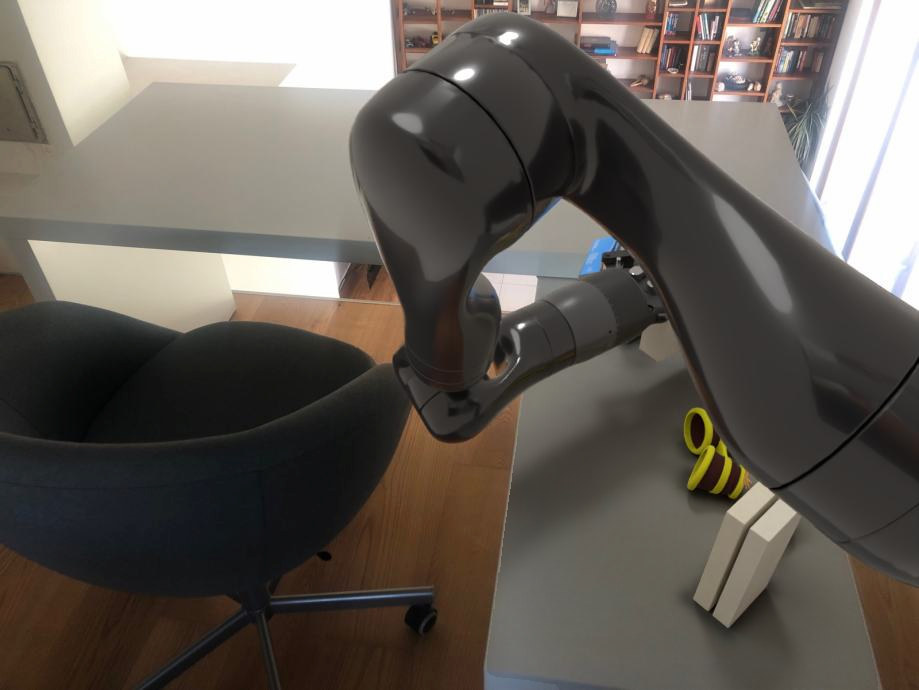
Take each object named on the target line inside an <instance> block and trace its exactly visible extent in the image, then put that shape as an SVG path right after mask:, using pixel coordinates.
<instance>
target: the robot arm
mask: <svg viewBox="0 0 919 690" xmlns="http://www.w3.org/2000/svg"><path fill="white" fill-rule="evenodd" d="M367 99H368V100H366V102H365V103H364V104H363V105H362V106H361V107H360V108H359V110H358V111H357V113H356V114H355V117H354V119H353V120H352V123H351V125H350V129H349V134H348V158H349V165H350V170H351V176H352V180H353V184H354V187H355V191H356V194H357V197H358V199H359V203H360V206H361V208H362V210H363V214H364V216H365V219H366V222H367V224H368V227H369V229H370V232H371V234H372V237H373V239H374V242H375V245H376V247H377V251H378V253H379V256H380V260H381V261H382V264H383V266H384V269H385V271H386V273H387V277H388V279H389V281H390V283H391V286H392V289H393V290H394V292H395V295H396V297H397V300H398V302H399V305H400V308H401V313H402V319H403V320H402V324H403V339H402V341H401V343H400V344H399V345H398V346H397V348H396V349H395V350H394V352H393V354H392V357H391V361H392V363H391V364H392V367H393V371H394V374H395V376H396V378H397V381H398V382H399V385H400V386H401V387H402V389H403V391H404V392H405V394H406V396H407V397H408V399H409V401H410V403H411V404H412V406H413V408H414V409H415V411H416V413H417V415H418V416H419V418H420V420H421V421H422V423H423V425H424V427H425V428H426V430H427V432H428V433H429V434H430V435H431V437H432V438H433V439H435V440H436V441H438V442H440V443H443V444H447V445H448V444H451V445H453V444H456V445H457V444H461V443H466V442H468V441H470V440H472V439H474V438H475V437H477V436H478V435H479V434H481V433H482V432H483V431H484V430H485V429H486V428H488V426H489V425H490V424H491V423H493V421H494V420H495V419H496V418H498V416H499V415H500V414H501V413H502V412H503V411H504V410H505V409H506V408H507V407H509V405H510V404H511V403H513V402H514V401H515V400H516V399H518V398H519V397H520V396H521V395H522V394H524V393H525V392H526V391H528V390H529V389H531V387H532V388H533V386H535V385H537V384H538V383H540V382H542V381H545V380H546V379H548V378H550V377H552V376H554V375H556V374H559V373H561V372H562V371H565V370H567V369H569V368H570V367H573V366H576V365H579V364H583V363H586V362H588V361H590V360H592V359H595V358H596V357H598V356H601V355H603V354H604V353H606V352H609V351H610V350H613V349H615V348H617V347H618V346H620V345H622V344H624V343H625V342H626V341H628V340H631V339H633V338H635V337H637V336H638V335H640V334H641V333H642V332H643V331H644V330H645V329H646V328H647V327H649V326H650V325H652V324H660V323H664V322H666V321H668V320H669V321H670V324H671V327H672V329H673V332H674V335H675V337H676V340H677V342H678V345H679V348H680V350H681V351H680V353H681V355H682V358H683V361H684V363H685V366H686V368H687V371H688V374H689V376H690V378H691V381H692V383H693V387H694V388H695V391H696V393H697V395H698V398H699V400H700V402H701V404H702V407H703V409H704V410H705V411H706V413H707V415H708V417H709V419H710V421H711V423H712V425H713V427H714V429H715V431H716V432H717V434H718V436H719V437H720V439H721V441H722V442H723V444H724V445H725V447H726V448H727V449H728V451H729V452H728V453H729V454H730V455H731V456H732V457H733V458H734V459H735V461H736V462H737V464H738V465H739V466H740V465H741V466H742V467H743V468H744V469H745V470H746V471H747V472H748V473H750V474H749V475H750V476H751V477H753V478H754V479H755V480H757V482H758V481H759V482H760V483H761V484H762V485H763V486H765V487H766V488H768V489H769V491H771V492H772V493H773V494H774V495H776V496H777V497H778V498H779V499H781V500H782V501H783V502H784V503H785V504H787V505H788V506H789V507H790V508H792V509H793V510H794V511H795V512H797V513H798V514H799V515H800V516H801V518H802V519H804V520H805V521H806V522H808V524H810V525H811V526H812V527H814V528H815V529H816V530H818V531H819V532H820V533H821V534H823V535H824V536H825V537H826V538H827V539H829V540H830V541H831V542H832V543H834V544H835V545H836V546H837V547H839V548H840V549H841V550H843V551H844V552H845V553H847V554H848V555H850V556H851V557H852V558H853V559H855V560H856V561H858V562H860V563H861V564H863V565H865V566H866V567H868V568H869V569H871V570H873V571H875V572H877V573H879V574H882V575H884V576H886V577H888V578H890V579H892V580H894V581H897V582H900V583H902V584H904V585H908V586H910V587H914V588H917V589H919V309H917V308H915V307H914V306H912V305H910V304H909V303H908V302H906V301H904V300H903V299H902V298H900V297H898V296H897V295H895V294H894V293H892V292H890V291H889V290H887V289H885V288H884V287H883V286H881V285H880V284H878V283H877V282H875V281H874V280H872V279H871V278H869V277H868V276H867V275H865V274H863V273H862V272H860V271H859V270H858V269H856V268H855V267H853V266H852V265H850V264H849V263H847V262H846V261H845V260H843V259H842V258H841V257H839V256H838V255H836V254H835V253H834V252H832V251H831V250H830V249H828V248H827V247H826V246H824V245H823V244H821V243H820V242H819V241H817V240H816V239H814V238H813V237H812V236H811V235H809V234H808V233H807V232H806V231H804V230H802V229H801V228H800V227H798V226H797V225H796V224H795V223H793V222H792V221H791V220H789V219H788V218H787V217H785V216H784V215H782V214H781V213H780V212H778V211H777V210H776V209H774V208H773V207H772V206H770V205H769V204H768V203H766V202H765V201H763V200H762V199H761V198H760V197H759V196H757V195H755V194H754V193H753V192H751V191H750V190H749V189H747V188H746V187H745V186H744V185H742V184H741V183H740V182H739V181H737V180H736V179H734V178H733V176H731V175H730V174H729V173H727V172H726V171H724V170H723V168H721V167H720V166H718V165H717V164H716V163H715V162H714V161H713V160H711V159H710V158H709V157H708V156H707V155H705V154H704V153H703V152H702V151H701V150H699V149H698V148H697V147H695V145H693V143H691V142H690V141H689V140H688V139H687V138H686V137H684V136H683V135H682V134H681V133H680V132H678V131H677V130H676V129H675V128H674V127H673V126H672V125H671V124H669V123H668V121H666V120H665V119H663V118H662V116H660V115H659V114H657V113H656V111H654V110H653V109H652V108H651V107H650V106H649V105H648V104H646V103H645V102H644V101H643V100H642V99H641V98H640V97H638V95H636V94H635V93H634V92H633V91H632V90H631V89H629V87H627V86H626V84H624V83H622V81H620V80H619V79H618V78H617V77H616V76H614V74H612V73H611V72H610V71H608V70H607V69H606V68H605V67H604V66H603V65H602V64H600V63H599V62H598V61H597V60H596V59H595V58H593V57H592V56H591V55H590V54H588V53H587V52H586V51H584V50H583V49H581V48H580V47H579V46H578V45H577V44H575V43H574V42H573V41H571V39H569V38H568V37H566V36H565V35H563V34H561V33H560V32H558V31H557V30H555V29H554V28H552V27H550V26H549V25H547V24H545V23H543V22H542V21H539V20H537V19H535V18H532V17H530V16H527V15H524V14H521V13H518V12H515V11H490V12H487V13H483V14H482V15H479V16H477V17H474V18H473V19H471V20H470V21H468V22H466V23H464V24H462V25H461V26H460V27H458V28H456V29H455V30H454V31H452V32H451V33H450V34H448V35H447V36H445V37H444V38H443V39H442V41H440V42H439V43H438V44H436V45H435V46H434V47H432V48H431V49H430V50H429V51H427V52H426V53H424V55H422V56H421V57H419V58H418V59H417V60H416V61H414V62H413V63H412V64H410V65H409V66H408V67H406V68H405V69H404V70H403V71H401V72H400V73H398V74H396V75H395V76H394V77H393V78H391V79H390V80H388V81H387V82H386V83H385V84H384V85H382V86H381V87H380V88H379V89H377V91H376V92H375V93H373V94H372V95H371V96H369V98H367ZM561 200H563V201H565V202H567V203H568V204H571V205H572V206H574V207H575V208H576V209H578V210H579V211H580V212H582V213H583V214H584V215H586V216H587V217H589V218H590V219H591V220H592V221H593V222H594V223H596V224H597V225H598V226H600V227H601V228H602V229H603V230H604V231H605V232H606V233H607V234H608V235H609V237H612V238H613V239H614V240H615V241H616V242H617V243H619V244H620V245H621V248H623V249H621V250H619V251H611V252H604V253H602V258H601V264H600V271H599V272H597V273H594V274H592V275H590V276H587V277H585V278H583V279H580V280H578V279H577V280H576V281H573V282H572V283H568V284H566V285H564V286H562V287H560V288H557V289H556V290H553V291H552V292H550V293H548V294H546V295H545V296H544V297H542V298H540V299H538V300H537V301H534V302H532V303H530V304H527V305H525V306H523V307H521V308H518V309H516V310H513V311H511V312H508V313H506V314H504V315H503V313H502V306H501V301H500V297H499V295H498V292H497V291H496V288H495V287H494V286H493V284H492V282H491V281H490V279H488V278H487V276H485V275H484V274H483V273H482V271H483V270H484V269H485V267H486V266H487V265H488V264H489V263H490V262H491V261H492V260H493V258H495V257H496V256H497V255H500V254H502V253H503V252H505V251H507V250H508V249H509V248H511V247H512V246H513V245H514V244H515V243H517V242H518V241H519V240H520V239H521V238H522V237H523V236H524V235H525V234H526V233H527V232H528V231H530V230H531V229H532V228H533V227H534V226H535V225H536V224H537V223H538V222H539V221H540V220H541V219H542V218H543V217H544V216H545V215H546V214H548V212H549V211H550V210H551V209H552V208H554V207H555V206H556V205H557V204H558V203H559V202H560V201H561ZM634 260H635V261H636V263H635V264H634ZM641 335H642V334H641ZM641 335H640V336H641ZM638 337H639V336H638ZM638 337H637V338H638ZM635 339H636V338H635ZM492 366H493V369H494V373H495V376H494V377H490V376H489V374H488V372H489V369H490V368H491V367H492Z"/></svg>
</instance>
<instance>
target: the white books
mask: <svg viewBox="0 0 919 690" xmlns="http://www.w3.org/2000/svg"><path fill="white" fill-rule="evenodd" d="M801 519H802V517H801V516H800V515H799V514H798V513H797V512H795V511H794V510H793V509H792V508H790V507H789V506H788V505H787V504H785V503H784V502H783V501H782V500H781V499H779V498H778V497H777V496H776V495H774V494H773V493H772V492H771V491H769V489H768V488H766V487H765V486H763V485H762V484H761V483H760V482H759V481H758V480H757V482H756V483H755V484H754V485H753V486H752V487H750V489H749V490H748V491H746V493H745V494H743V495H742V497H740V498H739V499H738V500H737V501H736V502H735V503H734V504H733V505H732V506H731V507H730V508H729V509H727V511H726V512H725V515H724V518H723V520H722V523H721V526H720V528H719V531H718V534H717V536H716V538H715V541H714V544H713V547H712V549H711V552H710V553H709V557H708V559H707V562H706V565H705V567H704V570H703V571H702V575H701V578H700V580H699V583H698V585H697V588H696V589H695V593H694V595H693V598H692V600H693V601H695V602H696V603H697V604H698V605H699V606H701V607H702V608H703V609H704V610H705V611H707V612H710V610H712V608H713V607H714V606H715V605H716V606H715V608H714V610H713V613H712V617H713V618H715V619H716V620H717V621H718V622H720V623H721V624H722V625H723V626H725V627H726V628H727V629H729V628H730V627H731V626H732V625H733V624H734V623H735V622H736V621H737V620H738V618H739V617H740V616H741V615H742V614H743V613H744V612H745V611H746V610H747V609H748V607H750V605H751V604H752V603H753V602H754V601H755V600H756V599H757V598H758V597H759V595H760V594H761V593H762V592H763V591H764V590H765V589H766V588H767V586H768V584H769V582H770V581H771V578H772V576H773V574H774V572H775V570H776V569H777V566H778V564H779V562H780V560H781V558H782V556H783V555H784V553H785V551H786V548H787V547H788V545H789V543H790V541H791V538H792V537H793V535H794V533H795V530H796V529H797V527H798V525H799V524H800V521H801Z"/></svg>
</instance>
